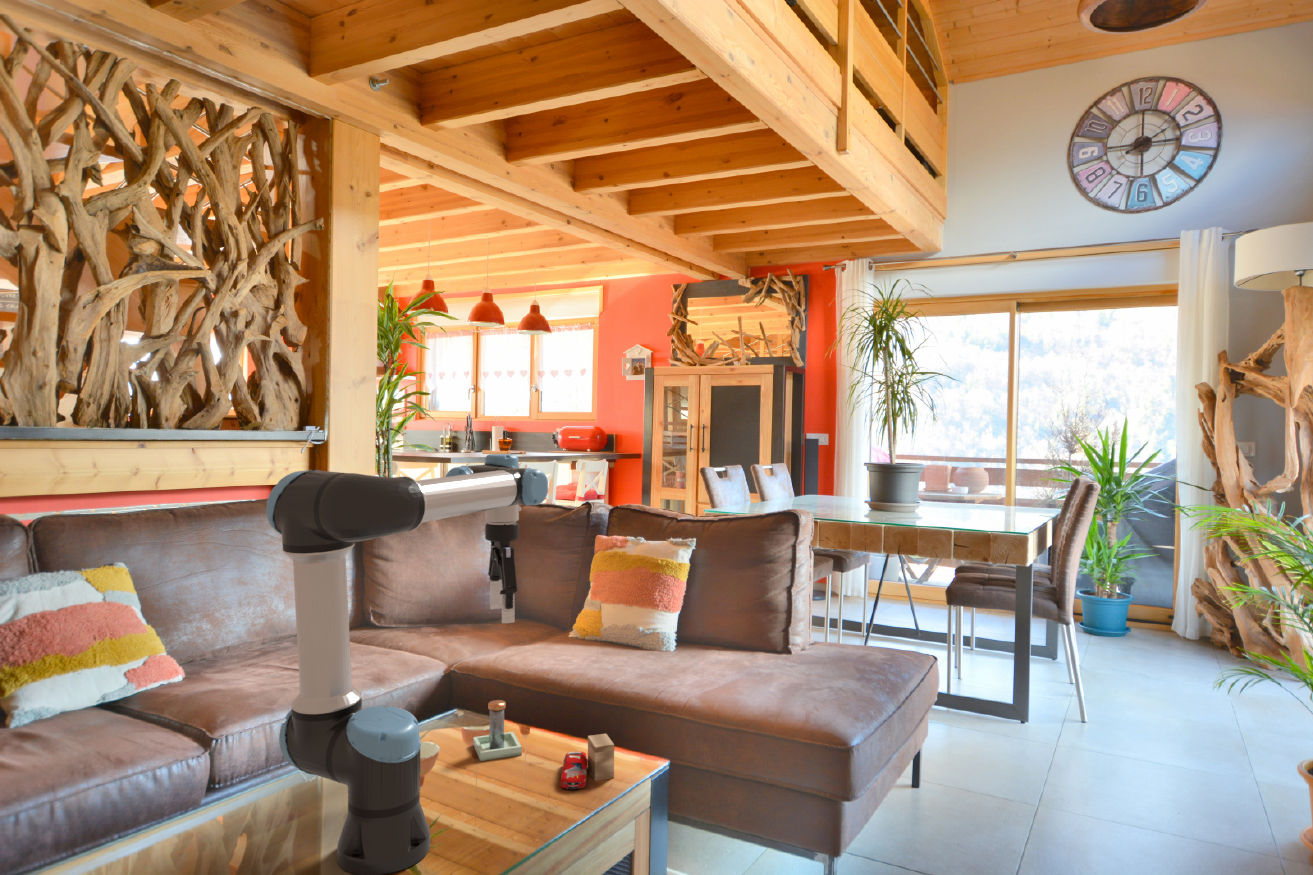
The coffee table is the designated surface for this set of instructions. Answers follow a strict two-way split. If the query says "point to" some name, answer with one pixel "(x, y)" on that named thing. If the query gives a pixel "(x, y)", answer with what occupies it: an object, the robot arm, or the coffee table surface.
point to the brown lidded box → (600, 757)
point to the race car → (574, 770)
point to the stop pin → (496, 723)
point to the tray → (510, 749)
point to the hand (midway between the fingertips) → (502, 615)
